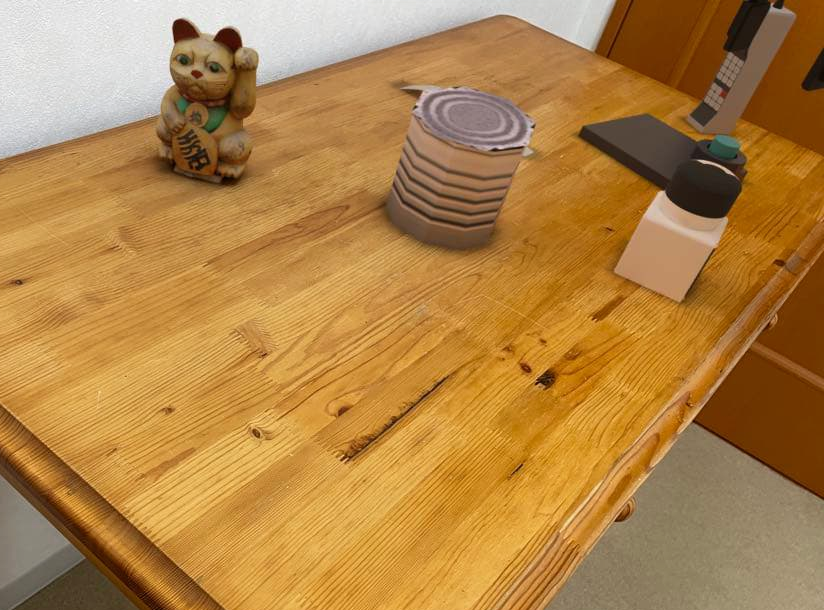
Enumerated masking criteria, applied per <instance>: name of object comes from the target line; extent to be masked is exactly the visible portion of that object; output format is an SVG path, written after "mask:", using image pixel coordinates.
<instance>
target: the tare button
mask: <svg viewBox="0 0 824 610" xmlns="http://www.w3.org/2000/svg"><path fill="white" fill-rule="evenodd" d="M712 140H713V141H712V143H711V145H710V147H709V148H708V149H709V150H710V151H711V152H712V153H714V154H716V155H718V156H721V157H724V158H727V159H734V157H735V156H736V154H737V152H738V150H740V149H741V147H742V144H741V142H739V141H738V140H737V139H735V138H733V137H731V136H728V135H725V134H715V136H714V138H713V139H712Z"/></svg>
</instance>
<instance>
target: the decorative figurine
mask: <svg viewBox="0 0 824 610" xmlns="http://www.w3.org/2000/svg"><path fill="white" fill-rule="evenodd" d="M171 30H172V31H171V32H172V39H173V47H172V50H171V52H170V53H171V54H170V55H169V56H170V57H169V73H170V77H171V78H172V81H173V83H174V84H172V85H171V86H170V87H169V88H168V89H167V90H166V91H165V93H164V95H163V97H162V99H161V102H160V115H159V116H158V119H157V121H156V125H155V134H156V137H157V138H158V140H159V141H160V143H159V147H158V157H159V160H160V161H163V162H164V163H170V164H175V165H174V169H173V171H174V172H176V173H178V174H181V175H182V174H183V175H184V176H187V177H190V178H197V179H201V180H204V181H208V182H212V183H216V184H220V183H221V182H222V181H223V178H224V177H225V178H233V179H238V178H240V176H241V175H242V174H243V173H244V172H245V170H246V168H247V165H248V160H249V158H250V157H251V154H252V152H253V140H252V136H251V134H250V132H249V131H248V130H247V129H246V128H244V120H245V119H247V118H249V117H250V116H251V115H252V113H253V112H254V110H255V108H256V105H257V95H258V94H257V93H258V92H257V71H258V67H259V63H260V62H259V61H260V58H259V56H260V55H259V53H258V52H257V51H256V50H255V49H254V48H253V47H248V46H244V45H243V39H242V38H243V37H242V34H241V32H240V30H239V29H238V28H237V27H236V26H234V25H227V26H223V27H222V28H220V29H219V30H218V31H217V33H216V34H211V33H206V32H205V33H203V32H201V30H200V29H199V27H198V26H197V25H196V23H195V22H193V21H192V20H190V19H189V18H187V17H183V16H182V17H179V18H177V19H175V20H174V21H173V22H172V26H171Z"/></svg>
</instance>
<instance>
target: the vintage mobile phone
mask: <svg viewBox="0 0 824 610" xmlns="http://www.w3.org/2000/svg"><path fill="white" fill-rule="evenodd" d="M785 1H786V0H776V1H775V2H772V3H771V4H770V5H771V8H770V10H769V11H768V13H767V15H766V17H765V19H764V21H763V22H762V24H761V26H760V28H759V30H758V32H757V34H756V35H755V37H754V39H753V41H752V43H751V45H750V46H749V48H748V49H746V50H739V51H732V52H727V53H726V55H725V57H724V58H723V60H722V62H721V65H720V66H719V68H718V70H717V72H716V73H715V75H714V78H713V80H711V83H710V85H709V87H708V89H707V90H706V92H705V95H704V97H703V98H702V100H701V102H700V103H699V104H698V105H697V106H696V107H695V108H694V109H693V110H692V111H691V112H690V113H689V114H688V116H687V117H686V120H685V121H686V122H687V123H688V124H690V125H691V126H692V127H693V128H695V129H696V130H697V131H698V132H699V133H700V134H712V135H725V136H728V135H729V136H730V135H731V133H732V132H733V131H734V129H735V127H736V125H737V123H738V122H739V119H740V118H741V116H742V114H743V113H744V111H745V109H746V107H747V106H748V104H749V102H750V100H751V98H752V97H753V95H754V94H755V91H756V89H757V88H758V86H759V84H760V83H761V81H762V79H763V77H764V76H765V74H766V72H767V70H768V68H769V67H770V66H771V63H772V61H773V60H774V58H775V56H776V55H777V53H778V51H779V50H780V48H781V46H782V44H783V42H784V40H785V39H786V37H787V35H788V34H789V31H790V30H791V28H792V26H793V24H794V23H795V21H796V19H797V14H796V13H794V12H793V11H791V10H790V9H789V8H787V7H785V6H784V4H785Z"/></svg>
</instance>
